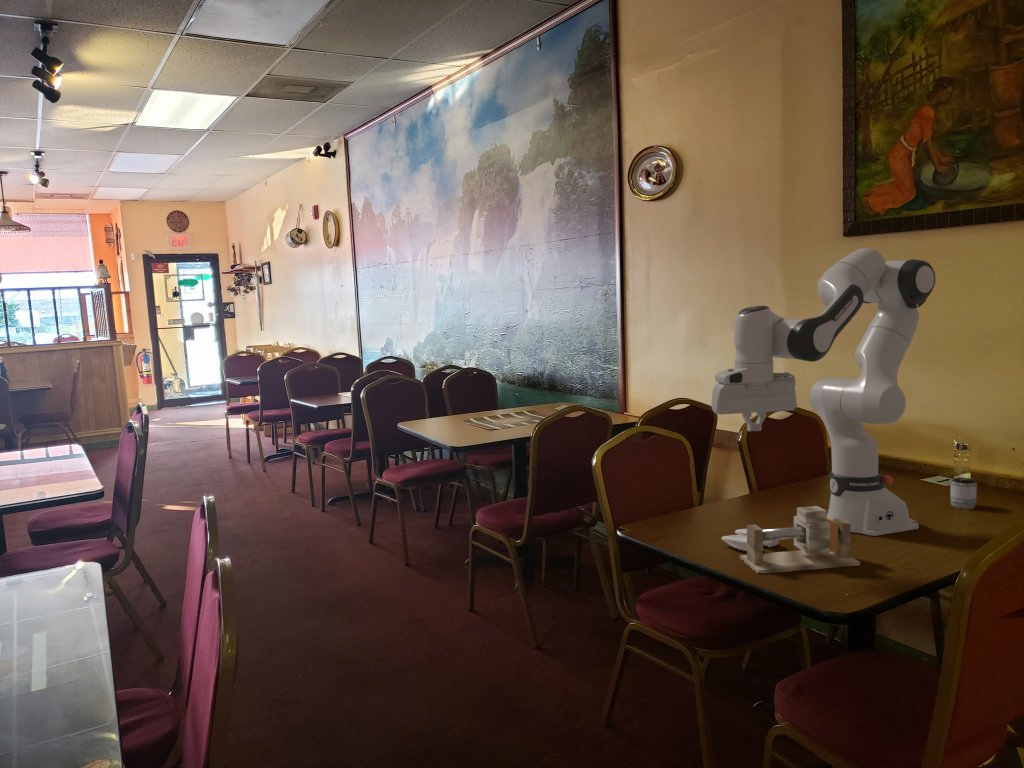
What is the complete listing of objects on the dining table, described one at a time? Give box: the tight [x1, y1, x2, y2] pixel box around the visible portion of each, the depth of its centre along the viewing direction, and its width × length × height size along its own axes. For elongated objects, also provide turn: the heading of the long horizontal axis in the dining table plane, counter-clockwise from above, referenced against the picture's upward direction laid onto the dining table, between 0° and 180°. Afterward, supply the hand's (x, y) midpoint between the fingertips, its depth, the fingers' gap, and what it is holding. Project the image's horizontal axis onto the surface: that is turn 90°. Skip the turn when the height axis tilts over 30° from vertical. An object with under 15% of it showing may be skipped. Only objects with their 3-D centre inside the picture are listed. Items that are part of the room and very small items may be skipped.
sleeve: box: [793, 505, 830, 555], centre depth 167 cm, size 5×7×10 cm
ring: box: [827, 518, 838, 552], centre depth 167 cm, size 2×6×6 cm, turn 6°
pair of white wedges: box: [720, 528, 780, 553], centre depth 179 cm, size 12×4×11 cm
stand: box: [739, 518, 861, 574], centre depth 167 cm, size 24×10×9 cm, turn 96°
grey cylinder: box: [949, 477, 978, 510], centre depth 204 cm, size 6×6×8 cm
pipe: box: [763, 525, 841, 541], centre depth 166 cm, size 19×3×3 cm, turn 96°
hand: (754, 430), depth 175 cm, fingers closed
